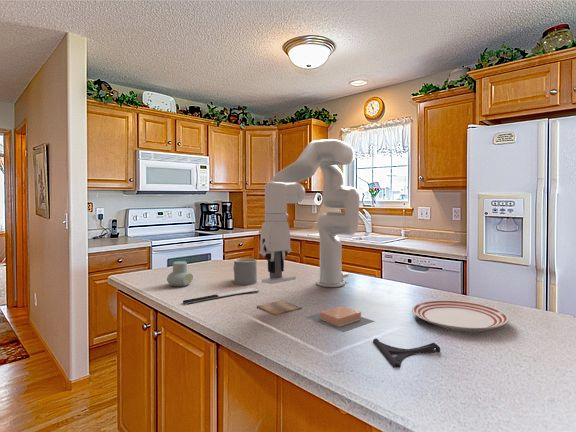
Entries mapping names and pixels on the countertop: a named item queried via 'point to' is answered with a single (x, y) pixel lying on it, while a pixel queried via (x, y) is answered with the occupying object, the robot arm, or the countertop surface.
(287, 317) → the countertop surface
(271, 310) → the board
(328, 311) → the block
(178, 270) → the air freshener
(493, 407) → the countertop surface
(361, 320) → the mat
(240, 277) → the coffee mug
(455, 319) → the dinner plate
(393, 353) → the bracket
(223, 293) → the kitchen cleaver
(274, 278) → the white base with post
